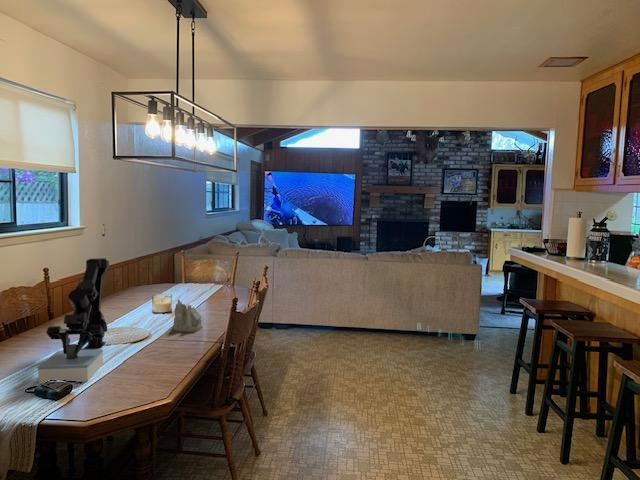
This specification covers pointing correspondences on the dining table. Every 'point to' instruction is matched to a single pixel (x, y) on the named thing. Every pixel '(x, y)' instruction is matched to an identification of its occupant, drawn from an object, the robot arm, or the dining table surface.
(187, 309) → the grey jagged lump
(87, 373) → the box
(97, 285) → the robot arm
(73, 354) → the lid
